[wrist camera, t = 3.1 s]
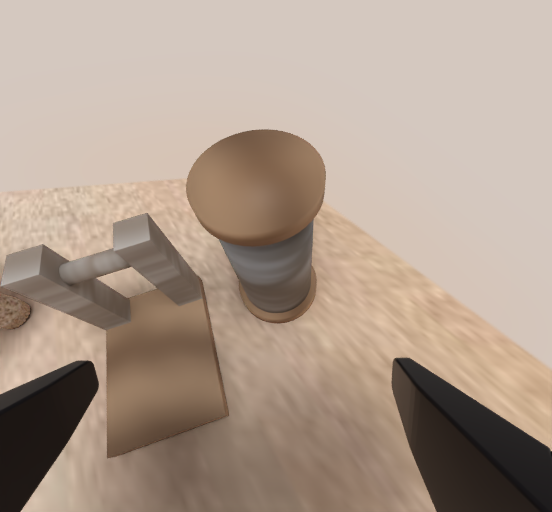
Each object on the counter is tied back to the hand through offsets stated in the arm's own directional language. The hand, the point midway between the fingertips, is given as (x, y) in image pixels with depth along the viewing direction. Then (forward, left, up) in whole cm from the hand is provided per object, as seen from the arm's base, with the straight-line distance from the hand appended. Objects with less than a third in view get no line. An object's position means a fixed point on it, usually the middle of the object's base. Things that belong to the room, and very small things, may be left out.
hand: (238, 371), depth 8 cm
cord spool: (+5, +7, -13) cm, 16 cm away
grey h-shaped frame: (-6, +7, -13) cm, 16 cm away
